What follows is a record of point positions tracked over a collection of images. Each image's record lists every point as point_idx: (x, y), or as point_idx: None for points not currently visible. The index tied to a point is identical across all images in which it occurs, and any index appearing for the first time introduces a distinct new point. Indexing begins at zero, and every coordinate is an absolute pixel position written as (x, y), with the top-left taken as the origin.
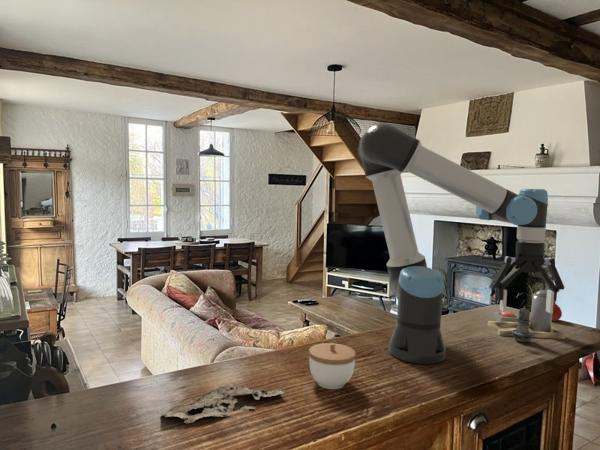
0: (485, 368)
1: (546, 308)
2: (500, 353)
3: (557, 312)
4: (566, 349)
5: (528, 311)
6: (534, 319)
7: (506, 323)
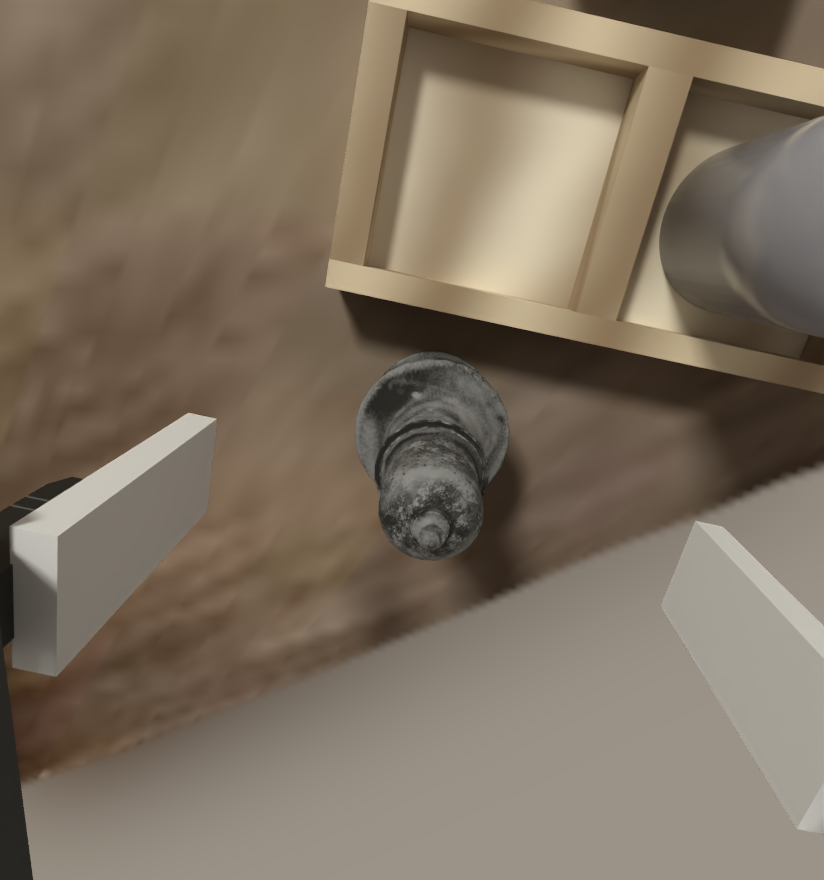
0: (28, 701)
1: (702, 551)
2: (197, 544)
3: None
4: (676, 513)
5: (448, 557)
6: (714, 255)
7: (539, 45)
